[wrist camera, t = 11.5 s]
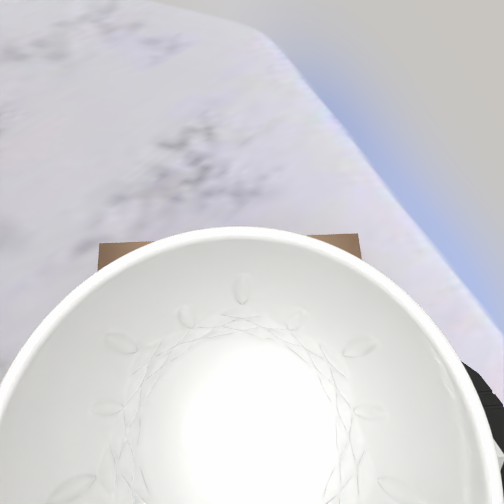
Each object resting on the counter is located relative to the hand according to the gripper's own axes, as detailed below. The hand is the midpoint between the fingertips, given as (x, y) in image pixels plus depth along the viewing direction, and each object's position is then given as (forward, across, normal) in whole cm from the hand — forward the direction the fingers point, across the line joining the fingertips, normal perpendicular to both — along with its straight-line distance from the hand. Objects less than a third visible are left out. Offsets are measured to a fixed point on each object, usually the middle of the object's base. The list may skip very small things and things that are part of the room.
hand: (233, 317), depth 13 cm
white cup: (0, 0, -5) cm, 5 cm away
